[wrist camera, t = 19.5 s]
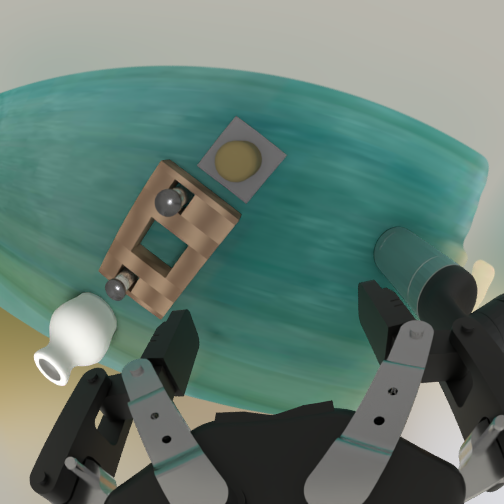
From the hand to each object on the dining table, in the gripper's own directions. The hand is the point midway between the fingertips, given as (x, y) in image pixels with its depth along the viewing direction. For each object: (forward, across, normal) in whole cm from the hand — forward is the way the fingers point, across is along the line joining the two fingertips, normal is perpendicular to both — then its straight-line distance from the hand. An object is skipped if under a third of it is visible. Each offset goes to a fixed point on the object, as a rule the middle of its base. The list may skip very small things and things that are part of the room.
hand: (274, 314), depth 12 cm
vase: (+33, +43, +18) cm, 57 cm away
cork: (+33, +3, -7) cm, 33 cm away
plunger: (+32, +13, -3) cm, 35 cm away
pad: (+33, +3, -7) cm, 34 cm away
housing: (+33, +19, +4) cm, 38 cm away
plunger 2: (+32, +27, +8) cm, 43 cm away
